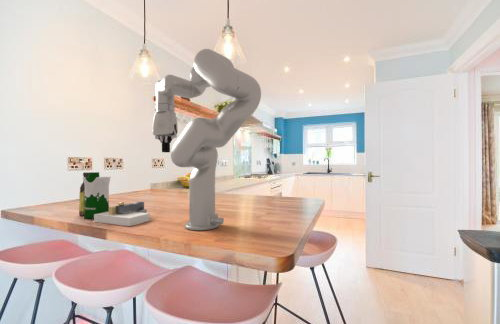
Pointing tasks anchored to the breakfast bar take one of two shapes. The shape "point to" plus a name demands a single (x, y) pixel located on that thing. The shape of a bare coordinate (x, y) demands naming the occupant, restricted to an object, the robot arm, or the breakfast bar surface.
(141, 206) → the latch arm
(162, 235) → the breakfast bar surface
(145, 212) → the jamb post
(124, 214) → the grey base with block
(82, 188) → the sauce bottle
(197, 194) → the robot arm
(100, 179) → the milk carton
